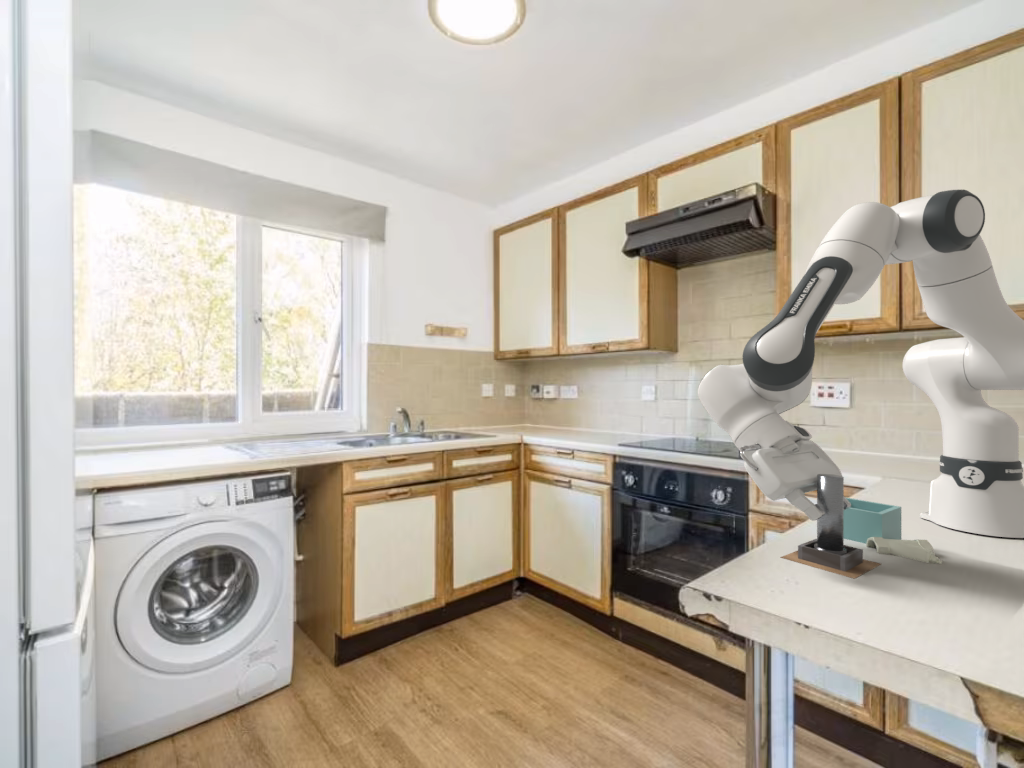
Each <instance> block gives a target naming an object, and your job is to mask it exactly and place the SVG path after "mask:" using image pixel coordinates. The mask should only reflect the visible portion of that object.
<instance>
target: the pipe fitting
mask: <svg viewBox="0 0 1024 768" xmlns="http://www.w3.org/2000/svg"><path fill="white" fill-rule="evenodd" d="M865 546H866V547H867V548H876V553H877V554H883V555H884V554H885V555H886V554H887V555H893V556H897V557H902V558H905V559H910V560H913V561H918V562H922V563H927V564H929V563H932V564H940V565H942V564H943V561H942V560H940V558H939V557H938V556H936V553H935V550H934V548H933V546H932V544H931V543H930V542H929V540H927V539H914V540H913V539H912V540H911V539H901V540H898V539H883V538H882V537H870V538H868V539H867V543H866V544H865Z"/></svg>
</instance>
